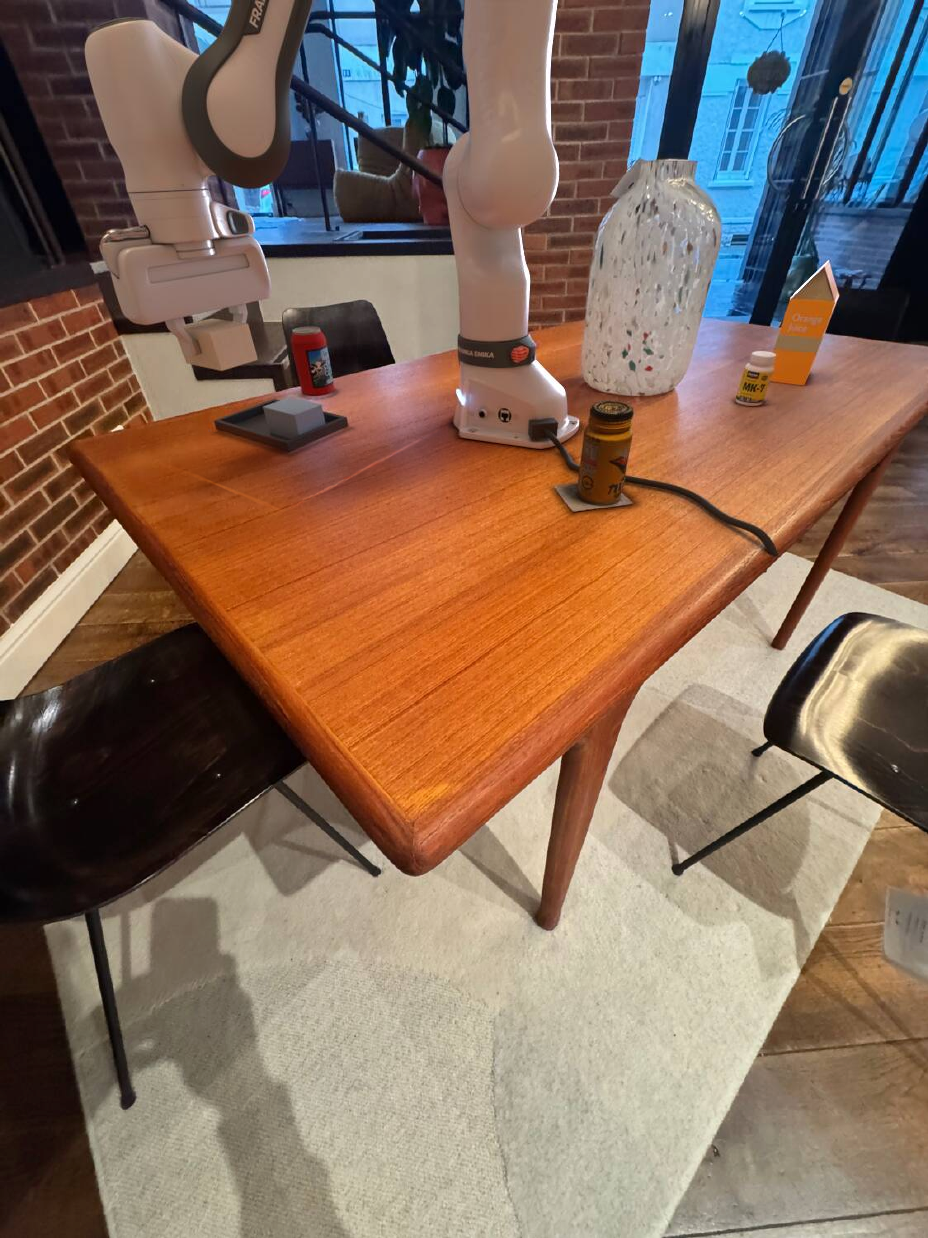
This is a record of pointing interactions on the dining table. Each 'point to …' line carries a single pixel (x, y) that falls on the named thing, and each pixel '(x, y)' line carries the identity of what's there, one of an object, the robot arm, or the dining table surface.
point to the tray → (256, 429)
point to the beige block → (220, 344)
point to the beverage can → (312, 361)
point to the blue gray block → (293, 417)
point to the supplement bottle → (756, 378)
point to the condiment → (602, 459)
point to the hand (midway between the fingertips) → (218, 348)
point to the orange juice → (804, 327)
